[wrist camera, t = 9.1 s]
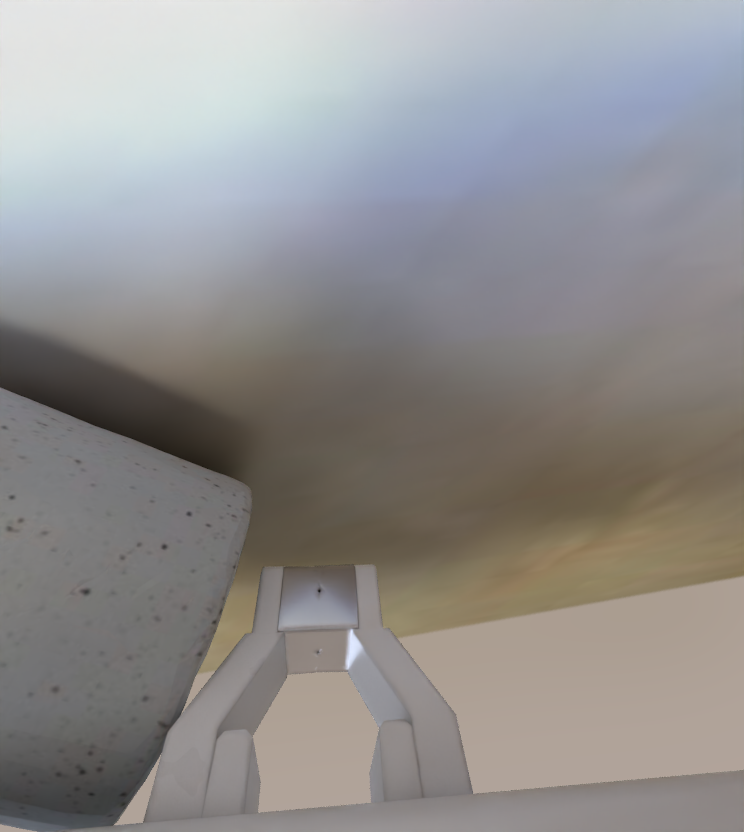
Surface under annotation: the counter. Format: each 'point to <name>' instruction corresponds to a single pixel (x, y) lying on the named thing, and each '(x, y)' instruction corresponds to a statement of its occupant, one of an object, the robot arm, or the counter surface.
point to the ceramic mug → (100, 608)
